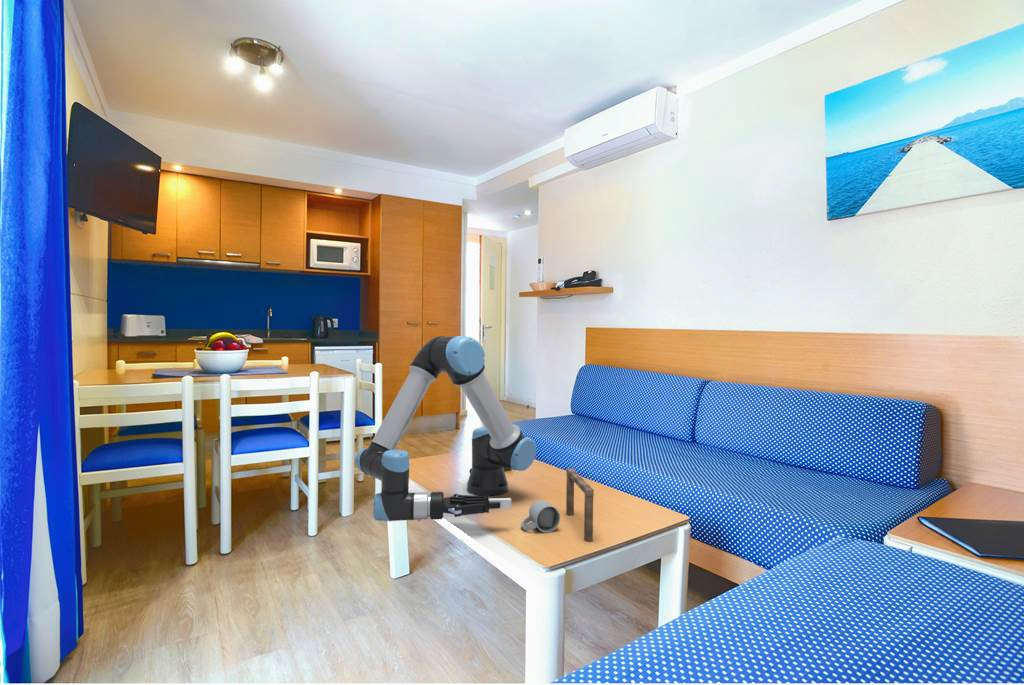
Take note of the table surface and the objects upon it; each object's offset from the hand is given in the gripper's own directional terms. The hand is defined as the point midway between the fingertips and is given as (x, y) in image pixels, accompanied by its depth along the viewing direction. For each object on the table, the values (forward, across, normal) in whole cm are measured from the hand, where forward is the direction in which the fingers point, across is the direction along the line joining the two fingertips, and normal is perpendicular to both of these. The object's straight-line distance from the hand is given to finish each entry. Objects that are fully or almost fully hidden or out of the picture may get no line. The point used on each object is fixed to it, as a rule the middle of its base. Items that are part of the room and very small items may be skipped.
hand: (510, 503), depth 143 cm
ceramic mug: (+9, 0, -8) cm, 12 cm away
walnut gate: (+21, 0, -8) cm, 22 cm away
